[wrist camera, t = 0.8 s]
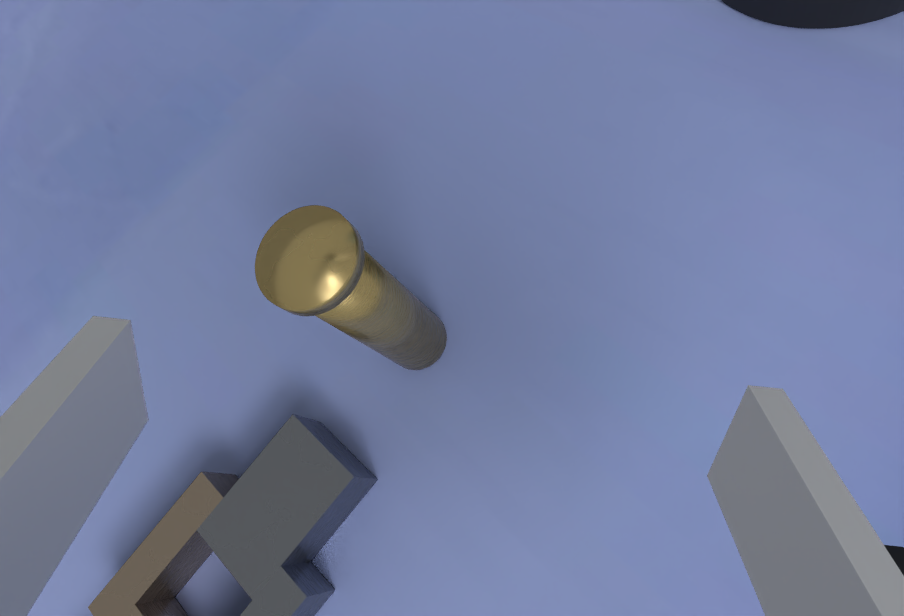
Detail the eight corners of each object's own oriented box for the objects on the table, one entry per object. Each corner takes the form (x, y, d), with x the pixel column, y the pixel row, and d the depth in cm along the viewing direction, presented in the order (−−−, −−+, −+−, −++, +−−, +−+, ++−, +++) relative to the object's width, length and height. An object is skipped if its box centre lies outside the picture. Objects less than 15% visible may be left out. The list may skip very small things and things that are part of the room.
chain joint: (297, 399, 37) (269, 390, 34) (403, 505, 33) (381, 505, 31) (65, 678, 36) (17, 692, 33) (149, 818, 33) (103, 846, 30)
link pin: (415, 289, 37) (305, 186, 25) (468, 332, 35) (377, 243, 24) (367, 346, 37) (235, 268, 25) (419, 392, 35) (303, 332, 23)
